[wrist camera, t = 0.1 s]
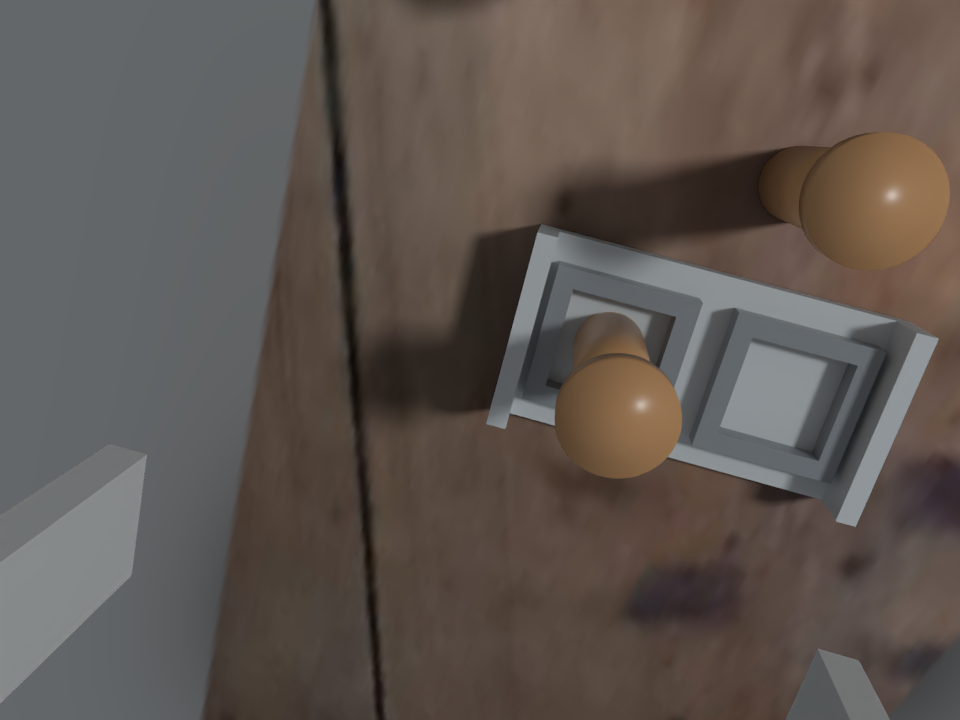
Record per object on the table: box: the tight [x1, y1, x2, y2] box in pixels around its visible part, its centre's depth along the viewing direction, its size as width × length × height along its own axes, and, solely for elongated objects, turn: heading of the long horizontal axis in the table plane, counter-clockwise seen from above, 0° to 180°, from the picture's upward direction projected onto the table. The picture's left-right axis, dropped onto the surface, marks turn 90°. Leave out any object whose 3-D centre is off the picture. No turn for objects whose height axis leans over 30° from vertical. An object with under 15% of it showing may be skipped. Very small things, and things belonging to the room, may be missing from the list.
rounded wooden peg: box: [554, 312, 682, 478], centre depth 35 cm, size 5×5×11 cm
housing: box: [486, 224, 938, 527], centre depth 40 cm, size 10×19×4 cm, turn 76°
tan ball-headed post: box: [758, 133, 950, 270], centre depth 33 cm, size 5×5×11 cm
